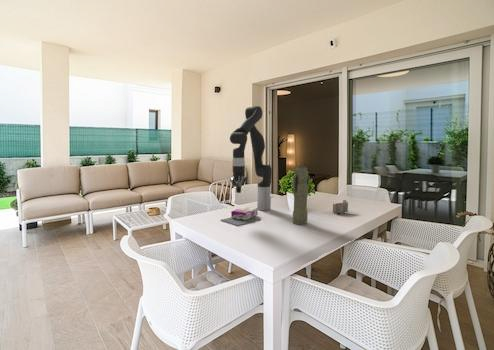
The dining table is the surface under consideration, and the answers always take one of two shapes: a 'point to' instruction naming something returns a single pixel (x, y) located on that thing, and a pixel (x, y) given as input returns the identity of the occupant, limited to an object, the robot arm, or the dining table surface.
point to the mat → (239, 221)
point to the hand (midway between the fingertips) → (238, 192)
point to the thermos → (300, 195)
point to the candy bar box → (244, 213)
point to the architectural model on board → (340, 207)
